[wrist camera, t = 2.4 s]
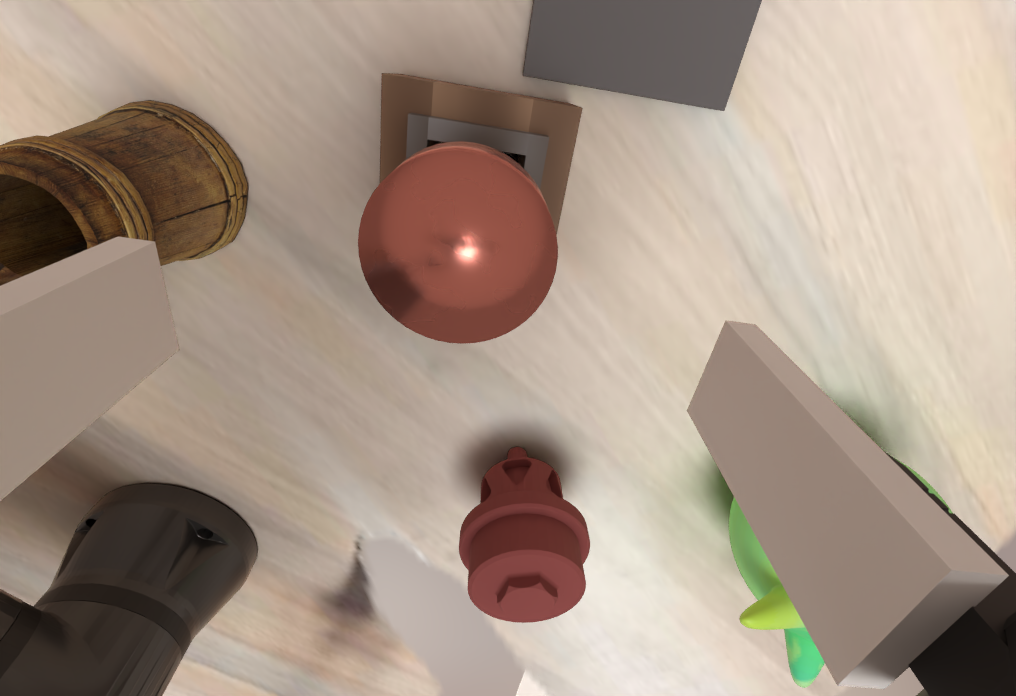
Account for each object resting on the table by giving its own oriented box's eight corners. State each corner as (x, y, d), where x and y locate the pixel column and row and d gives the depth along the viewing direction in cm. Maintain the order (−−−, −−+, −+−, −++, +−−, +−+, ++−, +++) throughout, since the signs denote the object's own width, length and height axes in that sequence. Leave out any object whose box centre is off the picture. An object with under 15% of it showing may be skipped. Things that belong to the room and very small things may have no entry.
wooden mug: (57, 242, 32) (-370, 400, 16) (130, 65, 27) (-383, 48, 11) (187, 319, 35) (-67, 516, 19) (274, 173, 30) (28, 278, 14)
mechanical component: (475, 516, 46) (455, 437, 41) (578, 505, 45) (571, 424, 40) (468, 650, 35) (441, 565, 30) (603, 638, 34) (597, 549, 30)
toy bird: (904, 497, 45) (1063, 661, 33) (740, 567, 50) (822, 733, 38) (846, 373, 38) (1020, 521, 25) (660, 469, 43) (729, 633, 30)
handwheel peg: (417, 223, 32) (358, 331, 18) (424, 107, 28) (357, 133, 15) (521, 238, 32) (537, 353, 19) (540, 126, 29) (577, 169, 15)
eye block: (394, 241, 32) (374, 273, 27) (400, 74, 27) (377, 73, 22) (538, 262, 33) (546, 296, 28) (569, 103, 28) (585, 109, 23)
